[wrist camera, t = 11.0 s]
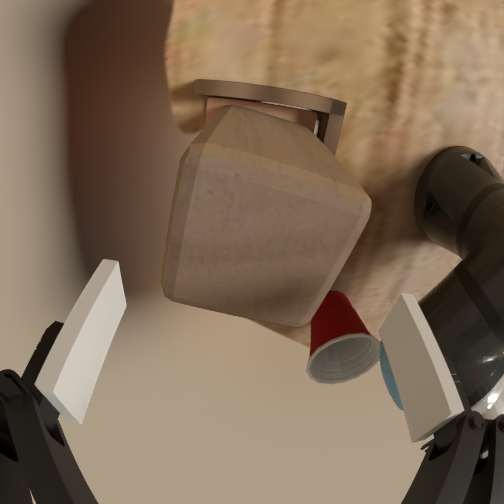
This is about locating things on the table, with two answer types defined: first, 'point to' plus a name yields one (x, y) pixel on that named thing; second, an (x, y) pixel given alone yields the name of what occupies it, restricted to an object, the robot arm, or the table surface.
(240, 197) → the block
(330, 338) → the plastic cup
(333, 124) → the arena
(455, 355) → the robot arm
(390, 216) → the table surface
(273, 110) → the tile
